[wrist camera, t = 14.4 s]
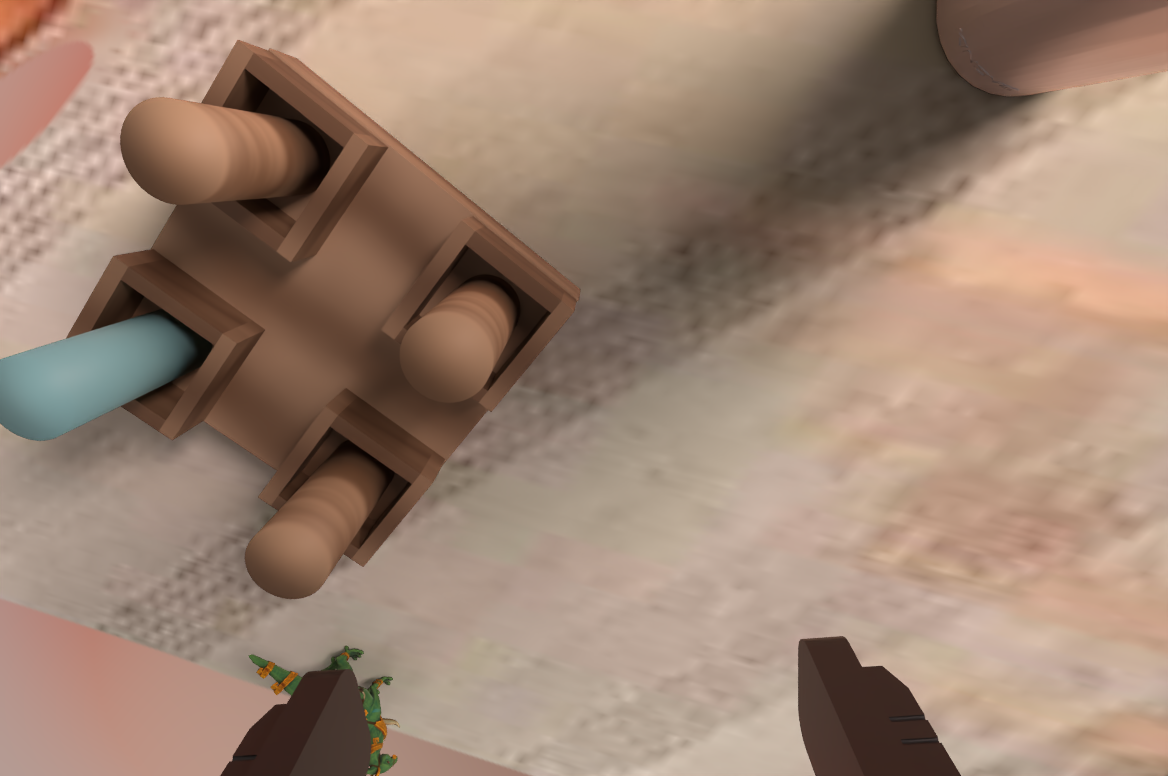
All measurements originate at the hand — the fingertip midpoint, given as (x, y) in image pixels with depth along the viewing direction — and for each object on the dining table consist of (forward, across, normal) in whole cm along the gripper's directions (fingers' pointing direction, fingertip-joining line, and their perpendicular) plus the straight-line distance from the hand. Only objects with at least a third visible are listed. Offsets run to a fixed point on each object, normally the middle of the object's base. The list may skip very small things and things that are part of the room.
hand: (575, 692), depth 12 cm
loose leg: (+25, +22, -2) cm, 34 cm away
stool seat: (+28, +14, -2) cm, 31 cm away
